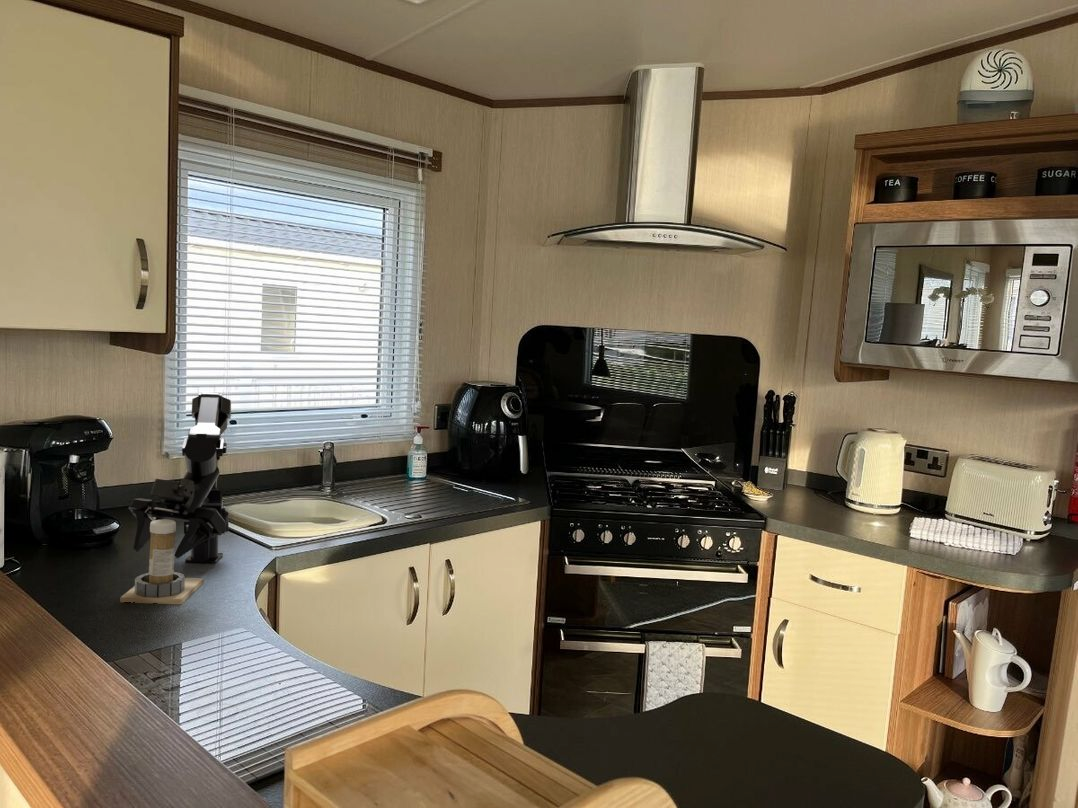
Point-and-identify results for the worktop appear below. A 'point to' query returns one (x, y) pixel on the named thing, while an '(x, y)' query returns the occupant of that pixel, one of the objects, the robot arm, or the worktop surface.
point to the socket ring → (159, 586)
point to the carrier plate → (190, 588)
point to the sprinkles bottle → (162, 551)
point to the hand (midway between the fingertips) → (155, 553)
